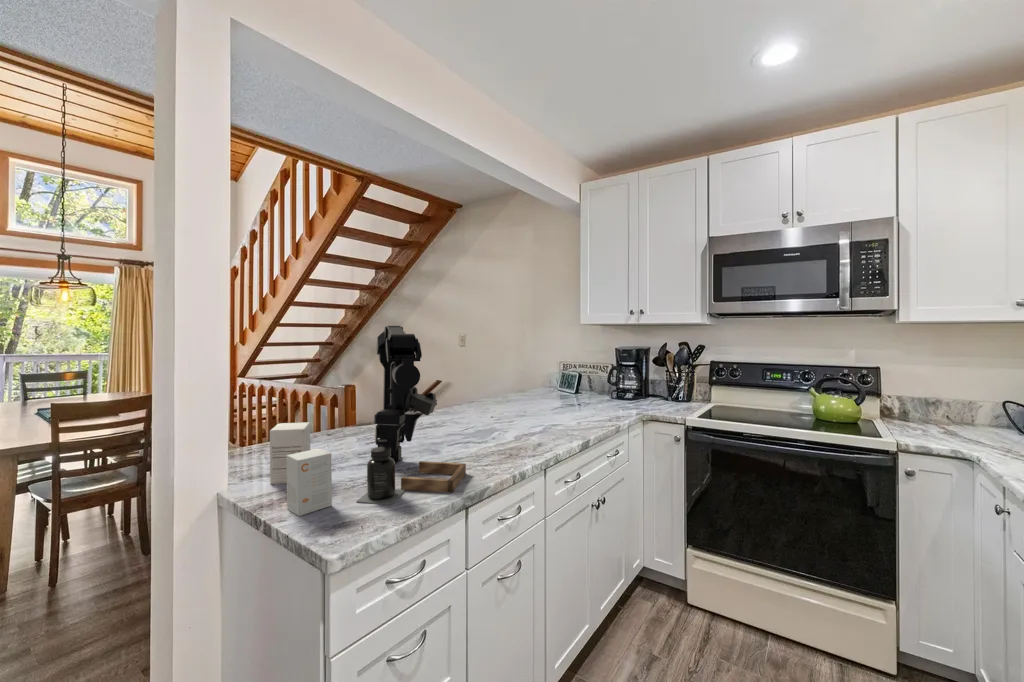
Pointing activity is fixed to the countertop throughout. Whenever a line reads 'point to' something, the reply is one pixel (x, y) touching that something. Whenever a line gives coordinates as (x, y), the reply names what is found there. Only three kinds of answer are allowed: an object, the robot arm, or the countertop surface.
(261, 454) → the countertop surface
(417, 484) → the frame
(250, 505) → the countertop surface
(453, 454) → the countertop surface
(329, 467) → the small box
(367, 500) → the slate mat
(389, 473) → the supplement bottle
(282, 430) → the supplement box
